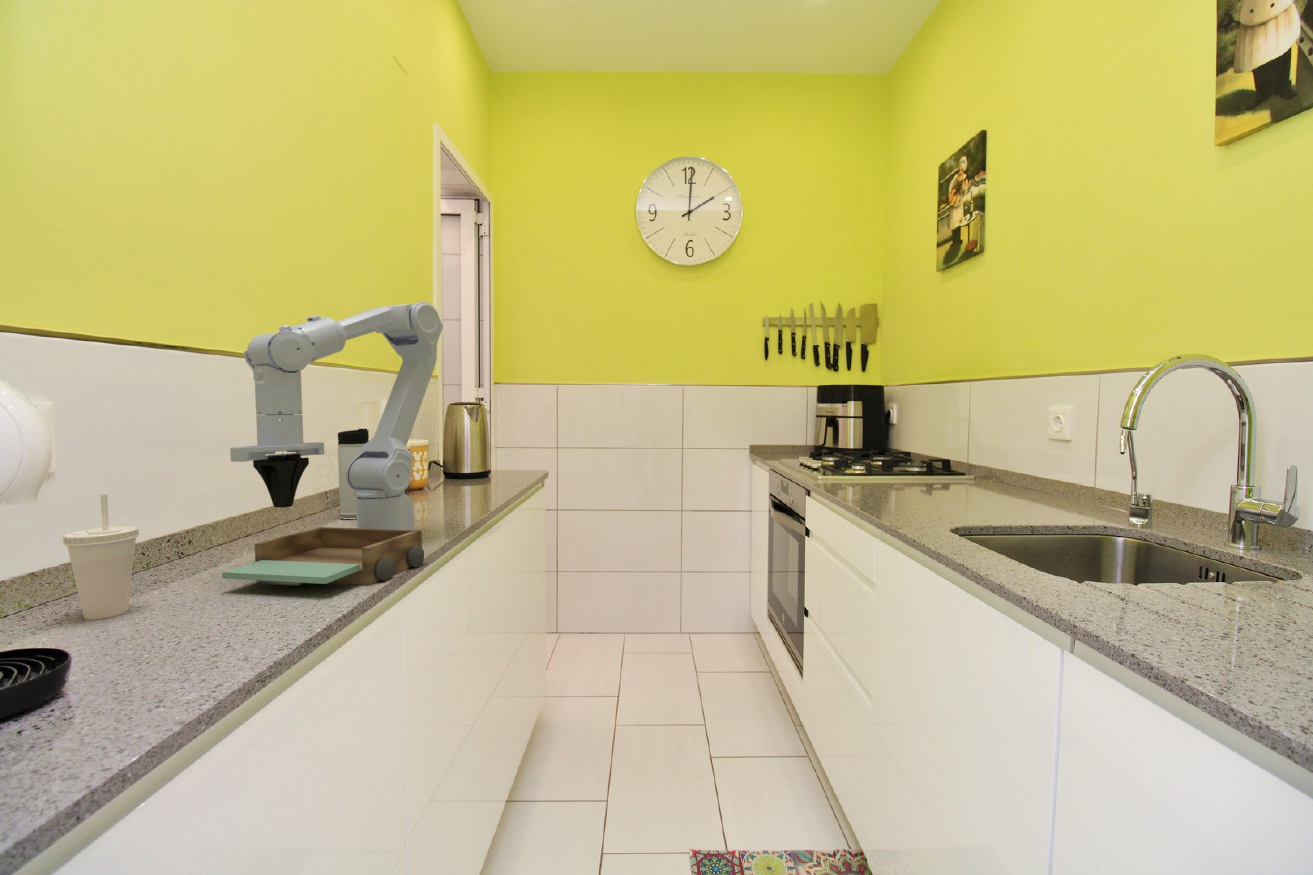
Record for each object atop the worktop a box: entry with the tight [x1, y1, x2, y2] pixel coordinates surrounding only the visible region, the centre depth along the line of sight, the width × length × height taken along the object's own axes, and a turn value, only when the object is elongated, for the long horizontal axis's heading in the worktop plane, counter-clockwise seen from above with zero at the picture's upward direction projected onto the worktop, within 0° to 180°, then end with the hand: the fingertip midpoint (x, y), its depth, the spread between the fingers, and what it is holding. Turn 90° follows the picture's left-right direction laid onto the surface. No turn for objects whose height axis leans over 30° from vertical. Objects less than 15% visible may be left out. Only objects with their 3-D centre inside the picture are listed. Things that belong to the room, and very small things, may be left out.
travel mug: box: [337, 428, 370, 518], centre depth 129 cm, size 6×7×20 cm
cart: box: [254, 526, 425, 586], centre depth 84 cm, size 12×20×5 cm, turn 79°
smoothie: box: [62, 493, 140, 620], centre depth 66 cm, size 6×6×14 cm
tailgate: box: [221, 560, 360, 587], centre depth 76 cm, size 2×15×6 cm
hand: (283, 506), depth 85 cm, fingers closed
